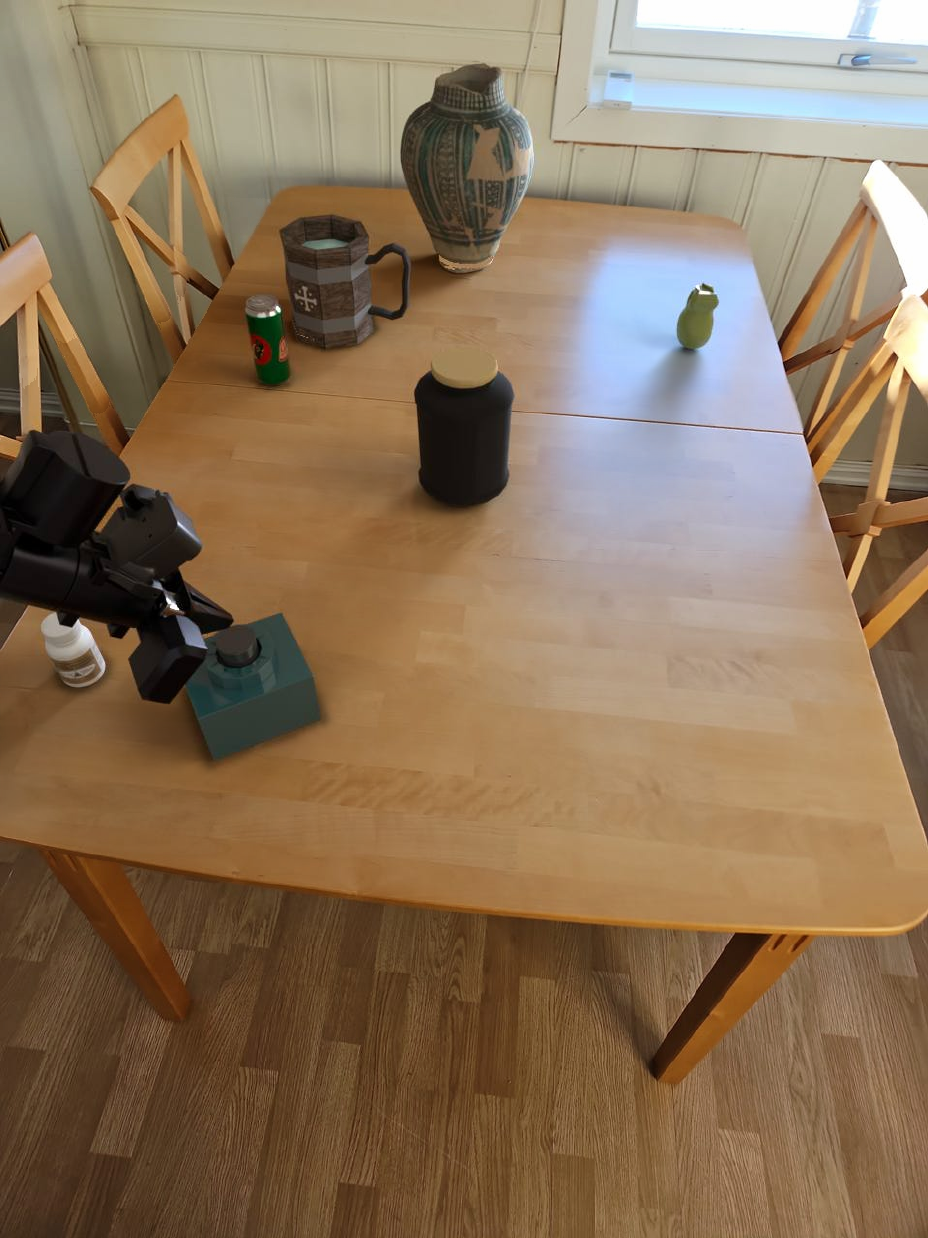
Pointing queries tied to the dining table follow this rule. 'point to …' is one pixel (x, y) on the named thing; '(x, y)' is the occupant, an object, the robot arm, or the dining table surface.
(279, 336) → the soda can
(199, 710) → the teal push button box
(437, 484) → the container
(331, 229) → the mug
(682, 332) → the pear
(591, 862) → the dining table surface
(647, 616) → the dining table surface
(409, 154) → the vase
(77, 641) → the pill bottle
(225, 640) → the dark brown button
